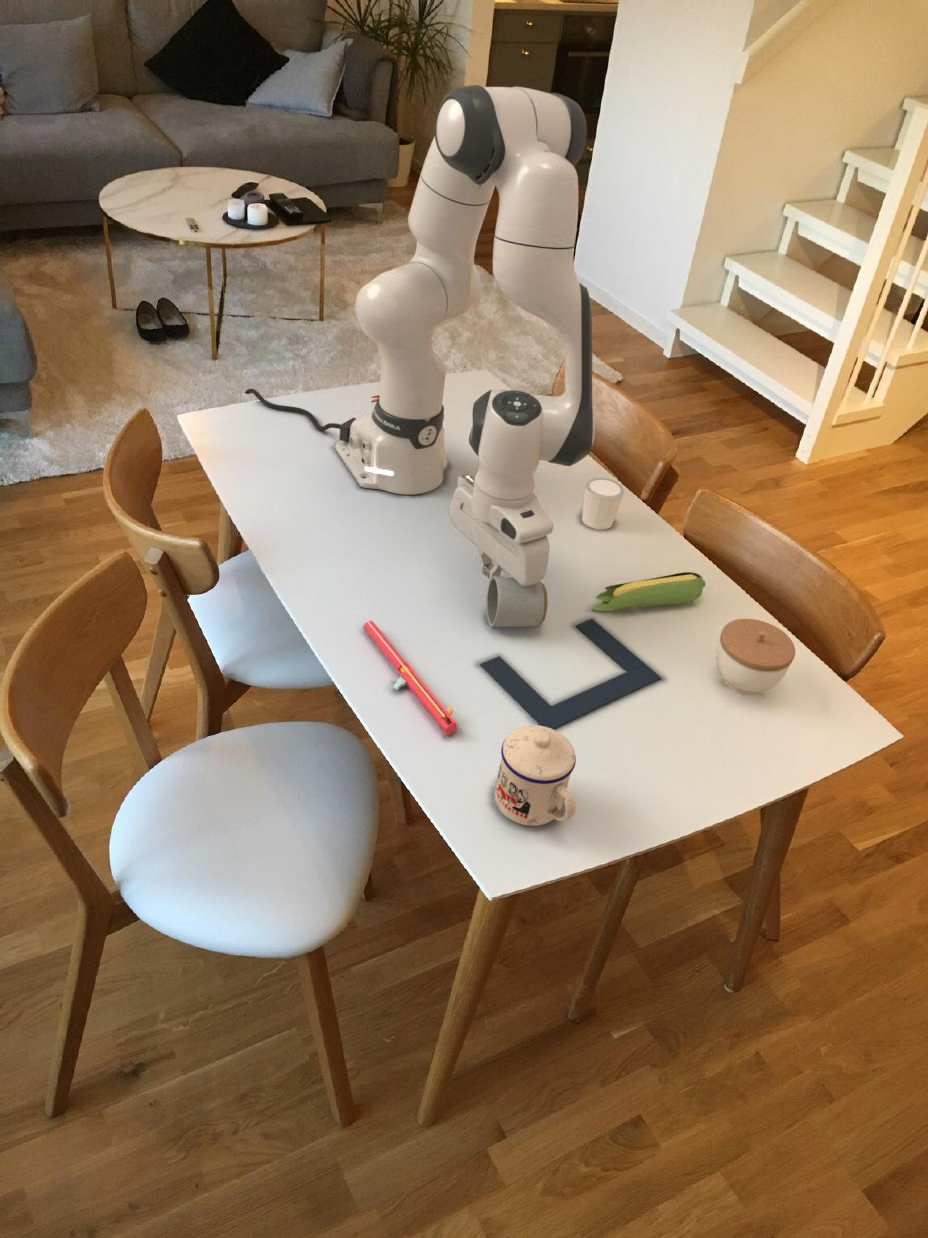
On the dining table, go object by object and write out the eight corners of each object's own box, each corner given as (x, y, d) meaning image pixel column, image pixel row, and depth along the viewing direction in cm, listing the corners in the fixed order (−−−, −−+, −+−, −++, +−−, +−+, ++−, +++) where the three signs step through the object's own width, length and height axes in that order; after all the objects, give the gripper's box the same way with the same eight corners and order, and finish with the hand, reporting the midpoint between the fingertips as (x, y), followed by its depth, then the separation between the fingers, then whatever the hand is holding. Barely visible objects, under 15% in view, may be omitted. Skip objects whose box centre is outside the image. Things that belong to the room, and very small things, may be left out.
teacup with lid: (478, 789, 127) (490, 724, 119) (534, 763, 131) (549, 700, 124) (535, 857, 119) (551, 792, 112) (592, 827, 124) (612, 763, 117)
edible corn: (707, 605, 163) (714, 583, 160) (597, 621, 156) (603, 598, 154) (691, 586, 167) (698, 564, 164) (584, 600, 160) (589, 578, 157)
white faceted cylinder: (574, 524, 177) (581, 491, 173) (583, 506, 182) (590, 473, 178) (611, 535, 176) (620, 501, 171) (619, 516, 181) (627, 483, 177)
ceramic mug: (544, 636, 152) (553, 596, 147) (491, 637, 150) (498, 596, 146) (529, 594, 160) (537, 554, 155) (479, 594, 158) (485, 554, 154)
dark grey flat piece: (480, 665, 145) (480, 663, 145) (591, 619, 156) (592, 618, 156) (547, 732, 136) (547, 730, 136) (661, 679, 147) (661, 677, 147)
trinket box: (709, 698, 145) (727, 649, 139) (705, 651, 154) (722, 603, 148) (782, 711, 145) (804, 663, 139) (775, 663, 153) (794, 616, 147)
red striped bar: (436, 744, 133) (465, 726, 134) (433, 735, 131) (462, 717, 133) (352, 637, 148) (380, 622, 149) (349, 628, 146) (376, 612, 147)
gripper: (444, 472, 152) (435, 546, 161) (527, 541, 140) (513, 617, 149) (477, 463, 155) (467, 536, 164) (561, 530, 143) (545, 605, 152)
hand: (489, 575), depth 156 cm, fingers closed
